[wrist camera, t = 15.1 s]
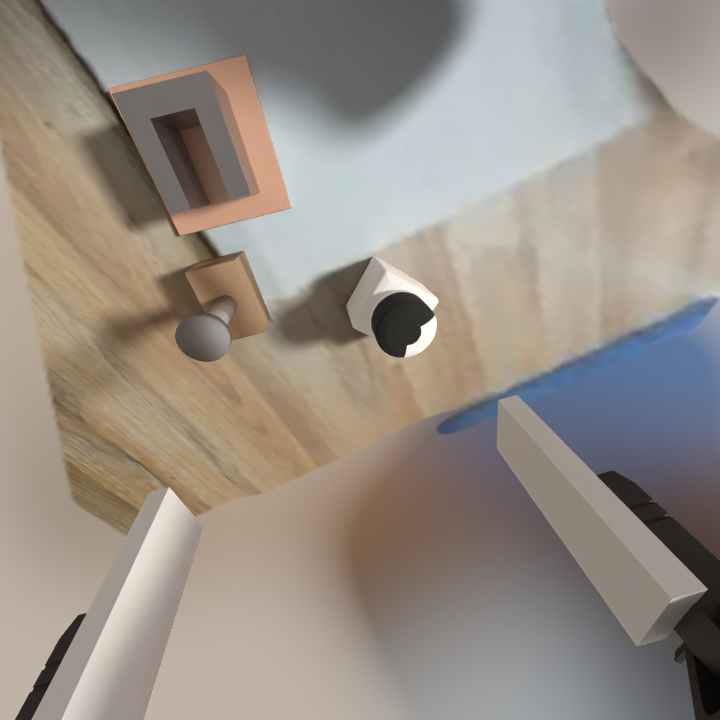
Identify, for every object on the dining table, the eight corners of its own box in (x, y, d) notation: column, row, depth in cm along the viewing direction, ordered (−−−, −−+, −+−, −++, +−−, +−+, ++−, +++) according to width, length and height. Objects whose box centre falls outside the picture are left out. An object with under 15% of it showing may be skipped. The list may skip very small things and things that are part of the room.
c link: (149, 110, 27) (111, 93, 22) (226, 91, 27) (206, 70, 22) (193, 209, 31) (170, 214, 26) (260, 192, 31) (250, 194, 26)
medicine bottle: (344, 305, 39) (357, 349, 29) (373, 254, 36) (398, 282, 26) (390, 328, 42) (417, 375, 31) (420, 282, 39) (459, 317, 29)
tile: (246, 57, 27) (245, 54, 26) (291, 207, 33) (290, 207, 32) (111, 90, 26) (107, 88, 26) (182, 234, 33) (180, 235, 32)
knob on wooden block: (243, 250, 34) (210, 285, 23) (269, 315, 38) (252, 372, 27) (200, 261, 34) (144, 301, 23) (230, 325, 38) (196, 386, 27)
